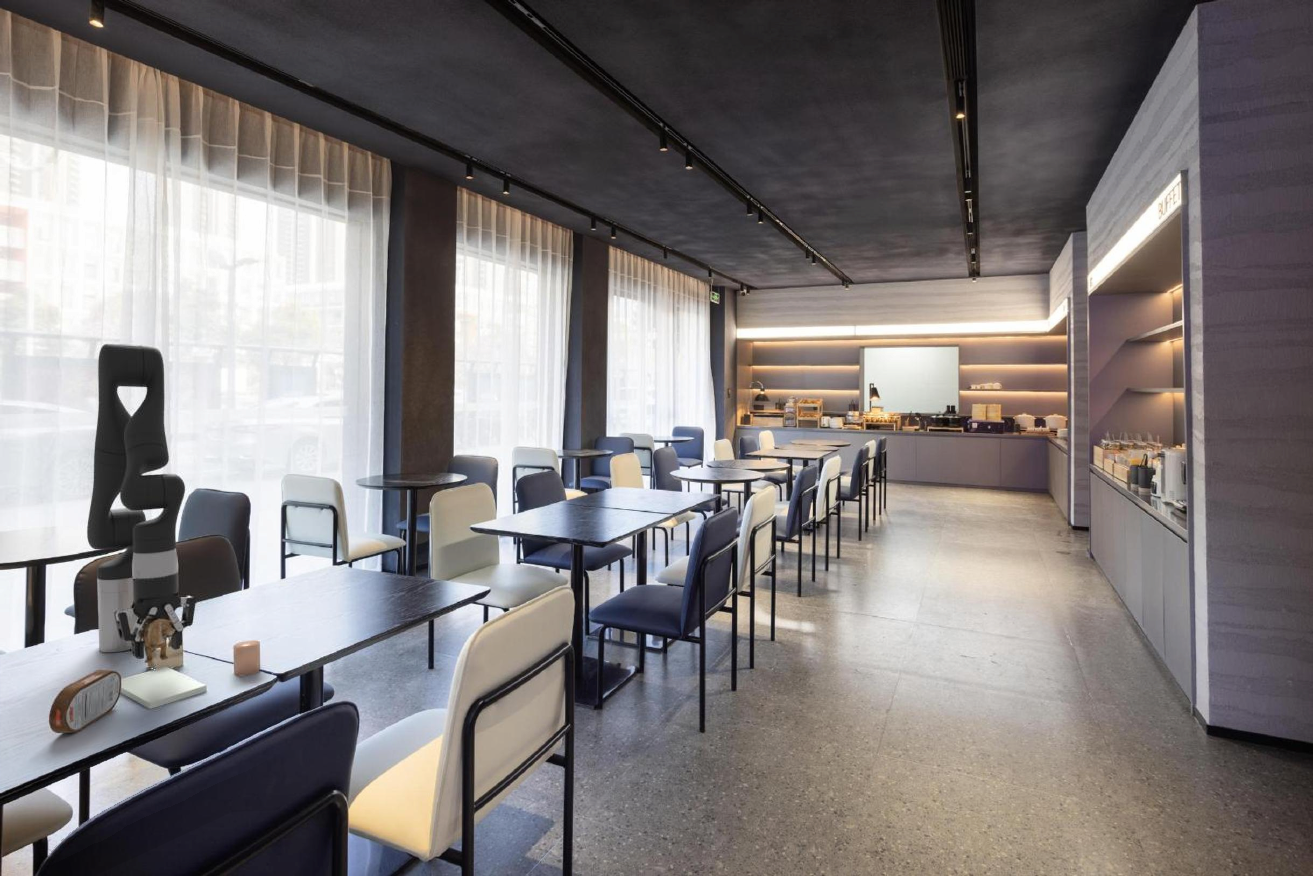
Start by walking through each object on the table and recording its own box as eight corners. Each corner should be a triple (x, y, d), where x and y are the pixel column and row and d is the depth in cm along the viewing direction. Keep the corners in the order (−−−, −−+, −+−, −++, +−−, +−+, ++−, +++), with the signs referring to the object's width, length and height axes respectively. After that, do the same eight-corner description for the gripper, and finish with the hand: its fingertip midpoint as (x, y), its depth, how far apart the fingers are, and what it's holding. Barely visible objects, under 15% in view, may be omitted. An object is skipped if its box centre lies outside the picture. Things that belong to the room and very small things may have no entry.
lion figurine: (176, 663, 138) (175, 619, 138) (142, 669, 135) (142, 624, 135) (174, 643, 150) (173, 602, 150) (144, 647, 147) (143, 606, 147)
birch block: (147, 667, 153) (147, 645, 153) (173, 660, 157) (172, 639, 157) (157, 672, 150) (157, 649, 150) (183, 665, 155) (182, 643, 154)
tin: (108, 704, 134) (107, 662, 134) (126, 704, 134) (124, 661, 134) (47, 742, 119) (45, 695, 119) (66, 742, 119) (65, 694, 119)
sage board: (111, 687, 142) (110, 681, 142) (166, 671, 150) (166, 666, 150) (149, 709, 132) (149, 703, 132) (206, 691, 141) (206, 685, 141)
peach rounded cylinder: (229, 672, 150) (228, 645, 150) (252, 665, 155) (252, 639, 154) (241, 677, 148) (240, 650, 148) (264, 670, 152) (264, 643, 152)
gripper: (186, 563, 148) (188, 640, 149) (105, 576, 136) (107, 660, 137) (203, 567, 144) (205, 646, 145) (121, 582, 132) (123, 668, 133)
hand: (157, 653), depth 141 cm, fingers closed on lion figurine, 6 cm apart
